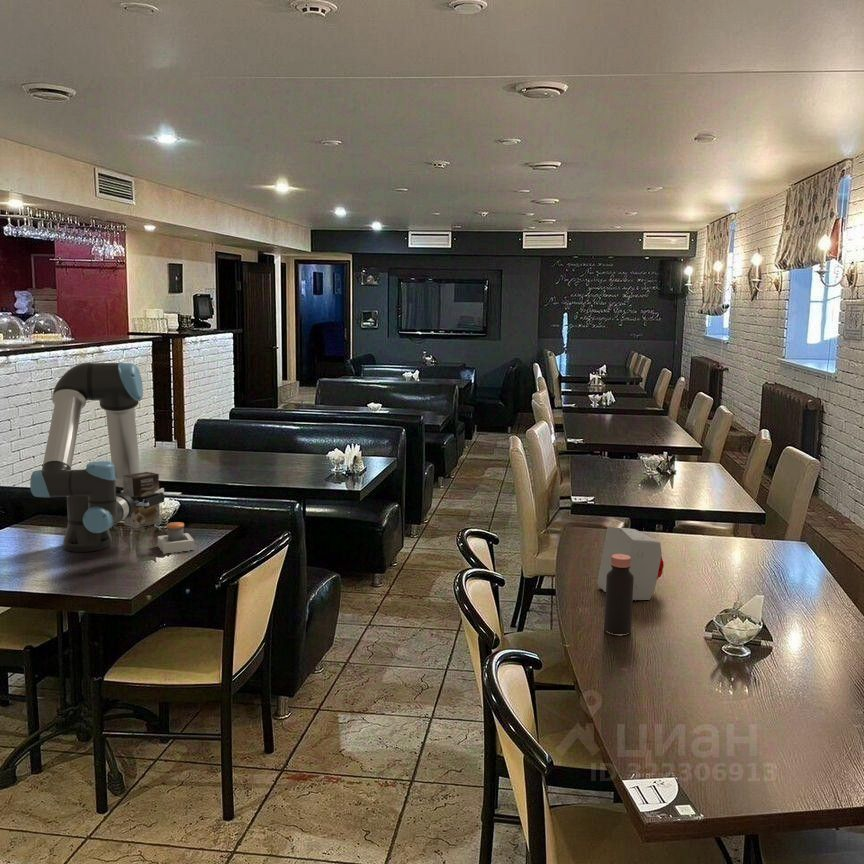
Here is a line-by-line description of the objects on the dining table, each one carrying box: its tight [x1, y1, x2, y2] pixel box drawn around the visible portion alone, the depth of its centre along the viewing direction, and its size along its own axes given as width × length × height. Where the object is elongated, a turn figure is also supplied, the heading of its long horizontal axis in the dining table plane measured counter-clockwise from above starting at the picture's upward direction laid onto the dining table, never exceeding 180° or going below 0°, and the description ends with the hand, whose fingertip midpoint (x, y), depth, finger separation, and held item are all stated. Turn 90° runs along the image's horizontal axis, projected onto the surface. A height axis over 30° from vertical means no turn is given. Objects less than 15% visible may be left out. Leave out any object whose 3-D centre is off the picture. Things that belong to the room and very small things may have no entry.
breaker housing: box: [157, 532, 195, 555], centre depth 286 cm, size 10×10×4 cm
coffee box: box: [123, 471, 161, 529], centre depth 272 cm, size 9×6×16 cm
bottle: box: [603, 554, 634, 634], centre depth 219 cm, size 7×7×20 cm
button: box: [166, 521, 185, 542], centre depth 285 cm, size 6×6×5 cm
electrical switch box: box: [596, 526, 664, 602], centre depth 248 cm, size 15×15×20 cm
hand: (146, 491), depth 276 cm, fingers closed on coffee box, 10 cm apart
